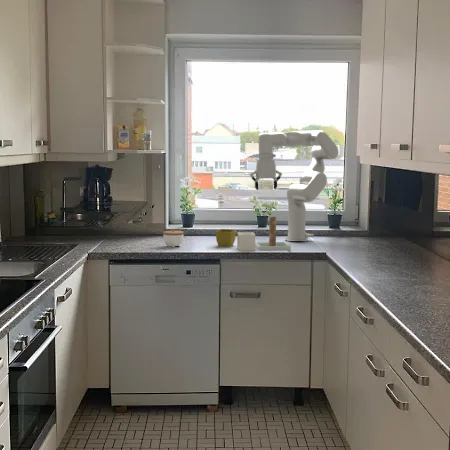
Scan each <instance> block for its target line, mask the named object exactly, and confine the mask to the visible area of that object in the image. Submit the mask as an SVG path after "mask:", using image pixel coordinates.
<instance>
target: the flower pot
mask: <svg viewBox="0 0 450 450" xmlns="http://www.w3.org/2000/svg"><path fill="white" fill-rule="evenodd" d="M236 234H237V229H223V228H221V229H219V230H216V231H215V238H216V244H217V245H218V247H227V248H230V247H232V246H234V243H235V241H236V238H237V235H236Z"/></svg>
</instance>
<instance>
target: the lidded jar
mask: <svg viewBox="0 0 450 450" xmlns="http://www.w3.org/2000/svg"><path fill="white" fill-rule="evenodd" d="M184 233H185V232H184V231H182V230H175V228H172V230H165V231H163V232H162V235H163V241H164V244H165V245H166V246H167V247H168V246H172V247H171V248H176V247H175V246H179V247H180V246H181V245H182V244H183V241H184Z"/></svg>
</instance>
